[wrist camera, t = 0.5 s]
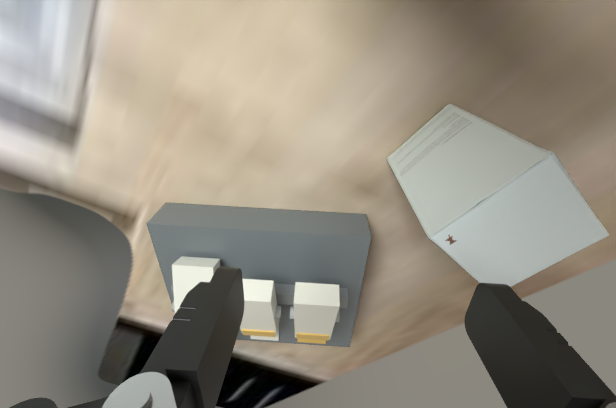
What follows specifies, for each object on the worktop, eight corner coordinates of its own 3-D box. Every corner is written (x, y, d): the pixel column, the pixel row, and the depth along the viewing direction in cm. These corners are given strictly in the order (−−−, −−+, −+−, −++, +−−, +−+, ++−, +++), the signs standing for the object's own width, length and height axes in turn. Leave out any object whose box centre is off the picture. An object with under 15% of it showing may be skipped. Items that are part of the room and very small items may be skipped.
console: (166, 202, 31) (138, 232, 26) (365, 214, 30) (373, 246, 26) (193, 310, 40) (177, 345, 36) (347, 320, 40) (350, 357, 35)
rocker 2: (289, 281, 26) (287, 304, 24) (344, 285, 26) (345, 308, 24) (292, 319, 33) (290, 338, 32) (334, 322, 33) (334, 341, 32)
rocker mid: (224, 277, 26) (218, 300, 24) (279, 280, 26) (276, 304, 24) (241, 316, 33) (237, 335, 32) (283, 318, 33) (281, 338, 32)
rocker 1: (176, 256, 29) (165, 265, 27) (224, 259, 29) (217, 268, 27) (181, 339, 31) (171, 354, 29) (226, 342, 31) (219, 357, 29)
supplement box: (429, 203, 29) (491, 300, 19) (383, 157, 27) (424, 238, 16) (496, 155, 26) (615, 238, 16) (451, 98, 24) (556, 150, 13)
